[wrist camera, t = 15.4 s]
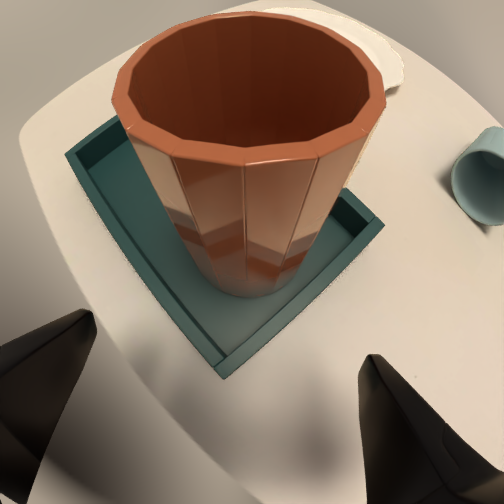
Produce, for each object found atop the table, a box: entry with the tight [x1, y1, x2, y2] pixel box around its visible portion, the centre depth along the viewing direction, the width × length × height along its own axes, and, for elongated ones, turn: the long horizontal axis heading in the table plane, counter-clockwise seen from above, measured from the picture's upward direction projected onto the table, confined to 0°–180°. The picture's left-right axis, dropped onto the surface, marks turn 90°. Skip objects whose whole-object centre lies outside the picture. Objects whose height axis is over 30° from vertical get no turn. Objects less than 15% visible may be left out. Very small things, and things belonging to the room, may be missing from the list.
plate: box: [259, 7, 404, 91], centre depth 26 cm, size 21×21×2 cm
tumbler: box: [111, 11, 386, 299], centre depth 12 cm, size 7×7×13 cm
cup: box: [451, 126, 504, 226], centre depth 19 cm, size 7×7×10 cm
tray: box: [65, 115, 385, 380], centre depth 19 cm, size 20×13×3 cm, turn 42°
